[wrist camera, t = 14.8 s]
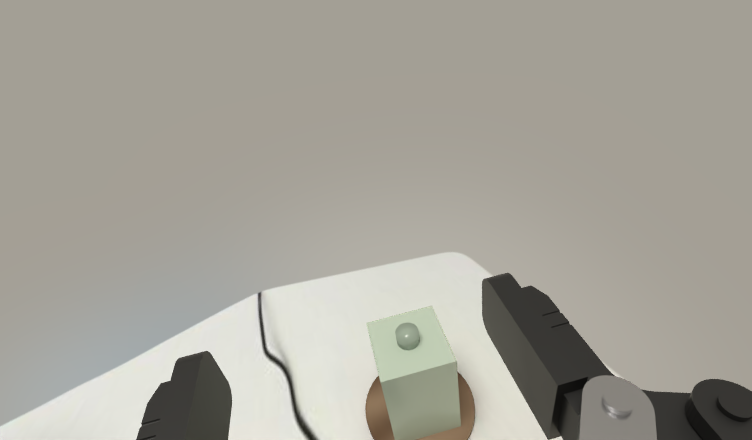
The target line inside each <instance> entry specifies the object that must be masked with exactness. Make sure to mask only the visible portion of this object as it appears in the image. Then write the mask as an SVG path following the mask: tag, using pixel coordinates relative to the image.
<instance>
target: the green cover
mask: <svg viewBox="0 0 752 440" xmlns="http://www.w3.org/2000/svg"><path fill="white" fill-rule="evenodd" d="M366 324H367V328H368V332H369V336H370V341H371V345H372V349H373V353H374V357H375V362H376V366H377V370H378V374H379V378H380V382H381V386H382V390H383V394H384V398H385V402H386V406H387V410H388V414H389V418H390V422H391V426H392V430H393V434H394V438H395V440H416V439H419V438H423V437H426V436H430V435H433V434H436V433H440V432H443V431H447V430H450V429H453V428H457V427H460V426H461V419H460V404H459V388H458V373H457V361H456V358H455V356H454V354H453V352H452V349H451V347H450V345H449V343H448V341H447V338H446V336H445V334H444V332H443V329H442V327H441V325H440V323H439V320H438V318H437V316H436V314H435V312H434V309H433V307H432V306H429V307H425V308H421V309H418V310H414V311H410V312H406V313H403V314H399V315H395V316H391V317H387V318H384V319H380V320H376V321H372V322H369V323H366Z"/></svg>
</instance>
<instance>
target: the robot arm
mask: <svg viewBox="0 0 752 440" xmlns="http://www.w3.org/2000/svg"><path fill="white" fill-rule="evenodd" d="M482 316H483V321H484V325H485V328H486V330H487V333H488V335H489V336H490V338H491V340H492V342H493V344H494V345H495V347H496V349H497V351H498V352H499V354H500V356H501V358H502V359H503V361H504V363H505V365H506V366H507V368H508V370H509V372H510V373H511V375H512V377H513V379H514V381H515V382H516V384H517V386H518V388H519V389H520V391H521V393H522V395H523V396H524V398H525V400H526V402H527V403H528V405H529V407H530V409H531V410H532V412H533V414H534V416H535V418H536V419H537V421H538V423H539V425H540V426H541V428H542V430H543V432H544V433H545V435H546V437H547V439H548V440H550V439H553V438H556V437H559V436H562V438H563V440H752V391H750V390H748V389H746V388H745V387H742V386H740V385H738V384H735V383H733V382H729V381H725V380H719V379H709V380H704V381H701V382H699V383H698V384H697V385H696V386H695V387H694V389H693V391H692V393H672V392H653V391H646V390H641V389H640V388H638V387H637V386H636V385H634V384H632V383H631V382H629V381H627V380H625V379H622V378H619V377H616V376H614V375H613V374H612V373H611V372H610V371H609V370H608V369H607V368H606V366H605V365H604V364H603V363H602V362H601V360H600V359H599V358H598V357H597V355H596V354H595V353H594V352H593V351H592V349H591V348H590V347H589V346H588V345H587V343H586V342H585V341H584V340H583V338H582V337H581V336H580V335H579V333H578V332H577V331H576V330H575V329H574V327H573V326H572V325H570V324H569V321H568V320H567V319H566V318H565V317H564V315H563V314H562V313H560V311H559V309H558V308H557V307H556V305H555V304H554V303H553V302H552V300H551V299H550V298H549V297H548V296H547V295H545V294H544V293H542V292H541V291H539V290H537V289H536V288H534V287H533V286H528V287H524V288H521V287H520V286H519V284H518V283H517V282H516V280H515V279H514V278H513V276H512V275H511V274H509V273H505V274H501V275H497V276H494V277H490V278H486V279H483V281H482ZM231 408H232V395H231V389H230V386H229V383H228V381H227V379H226V378H225V376H224V374H223V373H222V371H221V370H220V368H219V366H218V365H217V363H216V361H215V360H214V358H213V356H212V355H211V353H210V352H208V351H204V352H201V353H197V354H193V355H189V356H185V357H182V358H179V359H178V360H177V361H176V363H175V366H174V370H173V373H172V377H171V381H168V382H164V383H161V384H160V386H159V387H158V389H157V390H156V391H155V393H154V394H153V396H152V397H151V399H150V400H149V402H148V404H147V407H146V410H145V413H144V417H143V420H142V423H141V424H142V427H140V429H139V433H138V436H137V439H136V440H228V434H229V425H230V416H231Z"/></svg>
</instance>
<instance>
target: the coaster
mask: <svg viewBox="0 0 752 440" xmlns="http://www.w3.org/2000/svg"><path fill="white" fill-rule="evenodd" d="M457 373H458V372H457ZM458 388H459V404H460V419H461V426H460V427H457V428H453V429H450V430H447V431H443V432H440V433H436V434H433V435H430V436H426V437H423V438H419V439H416V440H468V438H469V436H470V434H471V432H472V428H473V425H474V418H475V406H474V399H473V395H472V392H471V390H470V388H469V386H468V384H467V382H466V381H465V379H464V378H463V377H462V376H461V375H460V374H459V373H458ZM366 419H367V423H368V426H369V429H370V432H371V435H372V437H373V439H374V440H395V438H394V434H393V430H392V426H391V422H390V418H389V414H388V410H387V406H386V402H385V398H384V394H383V390H382V386H381V382H380V378H379V376H378V377H377V378H376V379H375V381H374V382H373V384H372V386H371V388H370V390H369V393H368V395H367V400H366Z"/></svg>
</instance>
